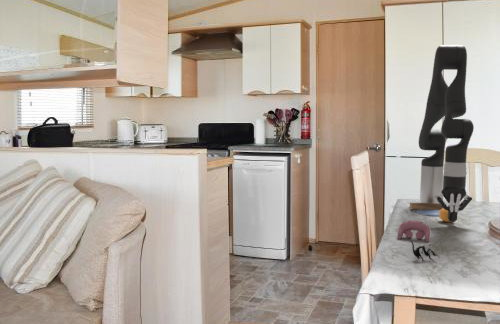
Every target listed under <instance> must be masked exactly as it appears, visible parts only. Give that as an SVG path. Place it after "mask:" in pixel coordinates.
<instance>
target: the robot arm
mask: <svg viewBox="0 0 500 324" xmlns="http://www.w3.org/2000/svg"><path fill="white" fill-rule="evenodd" d="M467 52H468V51H467V48H466V46H465V45H461V44H441V45H438V46H437V48H436V50H435V53H434V60H433V68H432V77H431V81H430V82H431V83H430V86H429V87H430V88H429V91H428V96H427V101H426V105H425V110H424V111H425V112H424V118H423V122H422V125H421V129H420V133H419V136H418V147H419V149H420V150H422V151H435V152H434V153H433V154H432V155H430V156H428V157H424V158H422V159H421V163H420V164H421V166H420V168H421V169H420V189H419V190H420V191H419V203H440V205H441V206H442V207H443V209H445V210H447V211H448V220H449V221H450V222H451V223H456V221H458V213H459V212H460V211H464V209H465V208H466V207H467V206H468V205H469V203H470V202H471V201H472V200H473V197H471V196H470V195H468V194H467V191H466V185H467V184H466V183H467V151H468V146H469V143H470V141H471V138H472V135H473V132H474V123H473V121H472V120H471V119H468V118H460V117H462V116H465V114H466V113H467V101H466V80H467V67H468V65H467V64H468V53H467ZM444 70H448V71H449V70H453V71H455V70H456V75H455V76H454V79H453V80H452V82H451V83H449V85H448V83H447V82H446V81H445V78H444V76H443V71H444ZM443 117H444V118H443ZM442 119H443V120H442ZM441 120H442V121H443V122H442V125H441V128H440V129H433V128H434V126H435V125H436V124H437V123H439V121H441ZM446 139H453V140H454V139H456V140H458V139H460V140H459V142H458V143H456V144H450V145H448V146H446V143H447V141H446ZM444 199H445V200H446V202H445V201H444Z"/></svg>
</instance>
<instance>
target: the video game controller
mask: <svg viewBox="0 0 500 324" xmlns="http://www.w3.org/2000/svg"><path fill="white" fill-rule="evenodd" d="M398 227H399V228H398V230H397V239H399V240H401V239H402V238H403V236H404V235H405V237H406V238H407V239H411V238H413V236H414V233H413V231H417V232H416V233H415V237H416V239H418V240H422V239H423V238H424V240H425V243H428V242H429V241H430V239H431V227H430V225H429V224H427V223H425V222H423V221H420V220H404V221H403V222H401V223H400V224H399V226H398Z"/></svg>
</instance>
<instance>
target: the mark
mask: <svg viewBox="0 0 500 324" xmlns="http://www.w3.org/2000/svg"><path fill="white" fill-rule="evenodd" d="M415 212H416V213H417V214H419V215H422V216H423V215H424V216H429V217H439V212H440V210H431V209H423V210H419V209H416V211H415Z"/></svg>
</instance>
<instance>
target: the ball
mask: <svg viewBox="0 0 500 324" xmlns="http://www.w3.org/2000/svg"><path fill="white" fill-rule="evenodd" d="M438 217H439V219H440V220H441V221H442V222H446V223H449V222H450V221H449V220H448V211H447V210H445V209H443V208H442V209H441V210H440V212H439V216H438Z"/></svg>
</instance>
